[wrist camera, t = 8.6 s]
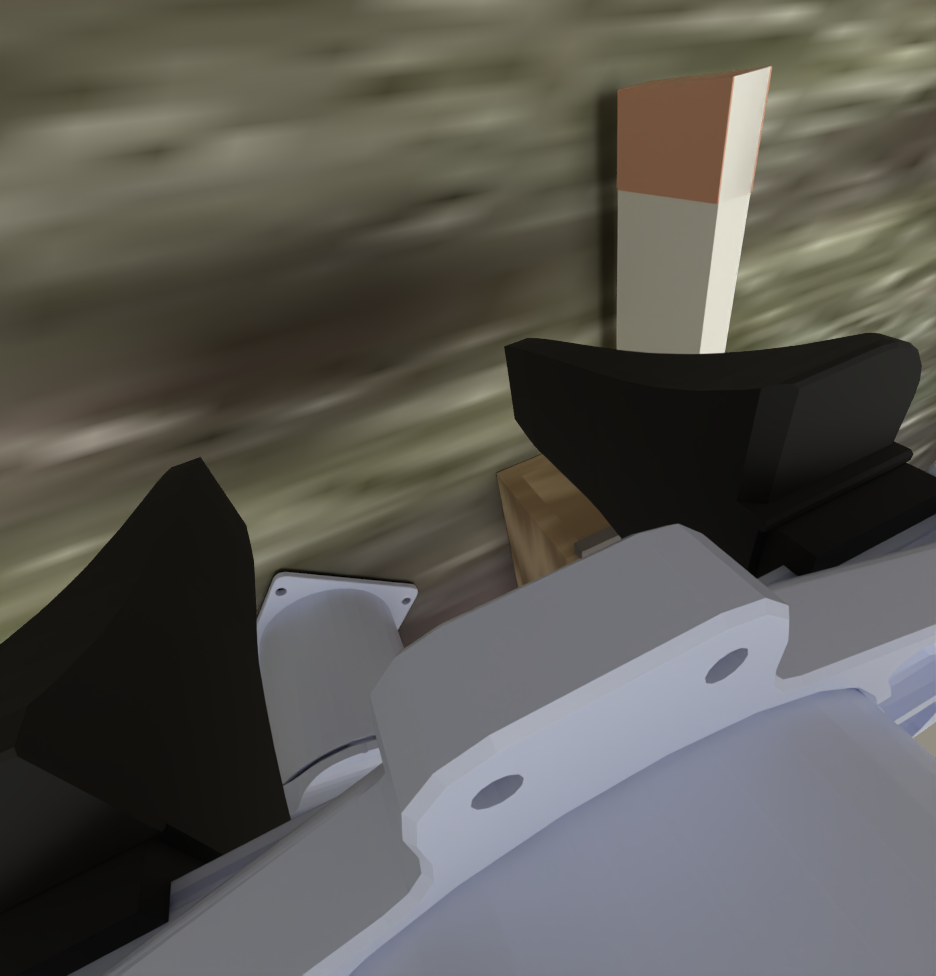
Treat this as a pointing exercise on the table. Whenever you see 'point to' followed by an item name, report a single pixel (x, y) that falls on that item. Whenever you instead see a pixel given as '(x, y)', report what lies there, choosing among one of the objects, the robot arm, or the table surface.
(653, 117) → the ticket
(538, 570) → the ticket box
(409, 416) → the table surface
